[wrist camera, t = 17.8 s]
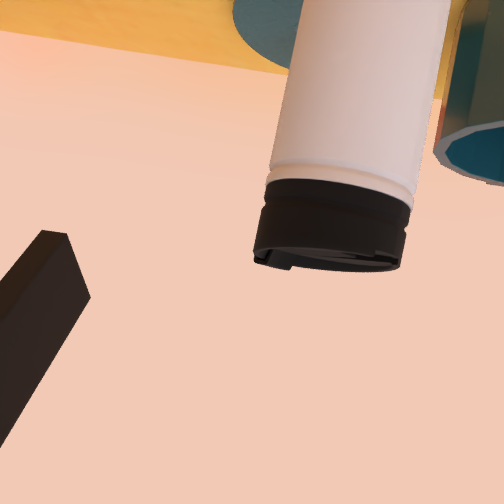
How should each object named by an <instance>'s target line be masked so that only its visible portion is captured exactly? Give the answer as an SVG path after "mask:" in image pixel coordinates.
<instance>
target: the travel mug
mask: <svg viewBox="0 0 504 504" xmlns="http://www.w3.org/2000/svg"><path fill="white" fill-rule="evenodd" d="M450 5H451V0H304V1H303V6H302V11H301V16H300V20H299V25H298V30H297V35H296V40H295V45H294V49H293V54H292V59H291V64H290V69H289V73H288V78H287V83H286V89H285V93H284V98H283V102H282V107H281V112H280V117H279V122H278V126H277V132H276V136H275V141H274V146H273V151H272V155H271V160H270V165H269V166H270V171H271V172H270V173H269V174H268V176H267V180H266V184H265V185H266V191H265V195H264V200H265V202H266V204H265V206H264V207H263V208H262V210H261V215H260V220H259V225H258V230H257V234H256V239H255V244H254V249H253V252H254V262H255V263H257V264H261V265H265V266H269V267H273V268H278V269H283V270H290V269H291V267H292V266H296V267H303V268H310V269H319V270H329V271H342V272H384V271H392V270H396V269H398V268H399V267H400V263H401V258H402V253H403V249H404V244H405V239H406V232H405V231H404V228H405V227H406V226H407V225H408V223H409V217H410V213H411V212H412V208H413V204H414V198H413V196H412V195H414V194H415V191H416V188H417V182H418V177H419V171H420V166H421V161H422V156H423V150H424V145H425V139H426V134H427V128H428V123H429V118H430V112H431V107H432V102H433V97H434V91H435V86H436V81H437V75H438V70H439V64H440V59H441V54H442V48H443V43H444V38H445V32H446V27H447V22H448V16H449V11H450Z"/></svg>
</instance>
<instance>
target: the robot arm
mask: <svg viewBox="0 0 504 504" xmlns="http://www.w3.org/2000/svg"><path fill="white" fill-rule="evenodd" d="M90 298H91V297H90V294H89V292H88V289H87V286H86V284H85V281H84V278H83V276H82V273H81V270H80V268H79V265H78V262H77V260H76V257H75V254H74V252H73V249H72V246H71V244H70V241H69V239H68V236H67V233H60V232H52V231H45V230H41V232H40V233H39V234H38V235H37V237H36V238H35V239H34V240H33V241H32V243H31V244H30V245H29V247H28V248H27V249H26V250H25V251H24V253H23V254H22V255H21V256H20V257H19V259H18V260H17V261H16V262H15V264H14V265H13V266H12V267H11V269H10V270H9V271H8V272H7V273H6V275H5V276H4V277H3V278H2V280H1V281H0V448H1V446H2V444H3V443H4V441H5V439H6V437H7V436H8V434H9V433H10V431H11V429H12V428H13V426H14V424H15V423H16V421H17V419H18V418H19V416H20V414H21V413H22V411H23V409H24V408H25V406H26V404H27V403H28V401H29V399H30V398H31V396H32V394H33V393H34V391H35V389H36V388H37V386H38V384H39V383H40V381H41V380H42V378H43V376H44V375H45V372H46V371H47V369H48V368H49V366H50V365H51V363H52V361H53V360H54V358H55V356H56V355H57V353H58V351H59V350H60V348H61V346H62V345H63V343H64V341H65V340H66V338H67V336H68V335H69V333H70V331H71V330H72V328H73V326H74V325H75V323H76V321H77V320H78V318H79V316H80V315H81V313H82V311H83V310H84V308H85V306H86V305H87V303H88V301H89V300H90Z"/></svg>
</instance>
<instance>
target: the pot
mask: <svg viewBox="0 0 504 504" xmlns="http://www.w3.org/2000/svg"><path fill="white" fill-rule="evenodd" d="M433 153H434V155H435V156H436V158H437V159H438V161H439V162H440V164H441V165H443V166H445V167H447V168H449V169H451V170H453V171H455V172H457V173H459V174H461V175H463V176H466V177H470V178H473V179H477V180H481V181H484V182H486V184H490V185H498V186H504V0H468V1H467V3H466V4H465V6H464V8H463V10H462V12H461V14H460V18H459V22H458V25H457V28H456V30H455V35H454V40H453V46H452V51H451V56H450V62H449V67H448V73H447V78H446V83H445V89H444V94H443V99H442V105H441V111H440V116H439V121H438V126H437V133H436V137H435V143H434V148H433Z"/></svg>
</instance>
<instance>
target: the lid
mask: <svg viewBox="0 0 504 504" xmlns="http://www.w3.org/2000/svg"><path fill="white" fill-rule="evenodd" d="M303 1H304V0H234V5H233V20H234V23H235V26H236V28H237V30H238V32H239V34H240V35H241V37H242V38H243V39H244V40H245V42H246V43H247V44H248V45H249V46H250V47H252V48H253V49H254V50H255V51H256V52H258V53H259V54H260V55H262V56H263V57H265V58H267V59H268V60H270V61H272V62H274V63H276V64H278V65H280V66H283V67H285V68H288V69H290V64H291V59H292V54H293V49H294V45H295V40H296V35H297V30H298V25H299V20H300V16H301V11H302V6H303Z"/></svg>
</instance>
